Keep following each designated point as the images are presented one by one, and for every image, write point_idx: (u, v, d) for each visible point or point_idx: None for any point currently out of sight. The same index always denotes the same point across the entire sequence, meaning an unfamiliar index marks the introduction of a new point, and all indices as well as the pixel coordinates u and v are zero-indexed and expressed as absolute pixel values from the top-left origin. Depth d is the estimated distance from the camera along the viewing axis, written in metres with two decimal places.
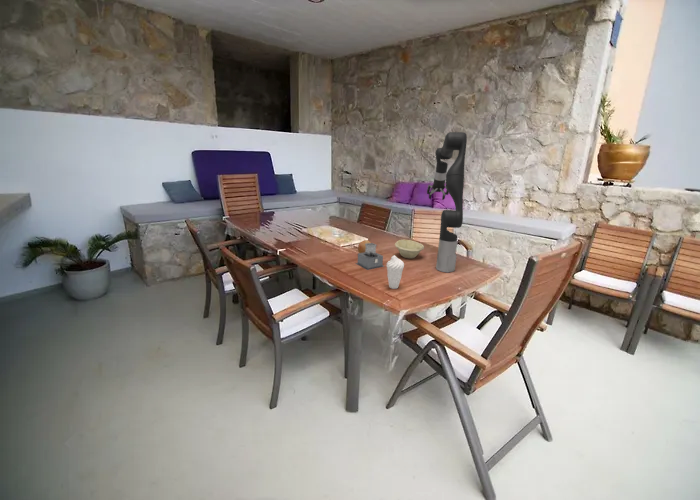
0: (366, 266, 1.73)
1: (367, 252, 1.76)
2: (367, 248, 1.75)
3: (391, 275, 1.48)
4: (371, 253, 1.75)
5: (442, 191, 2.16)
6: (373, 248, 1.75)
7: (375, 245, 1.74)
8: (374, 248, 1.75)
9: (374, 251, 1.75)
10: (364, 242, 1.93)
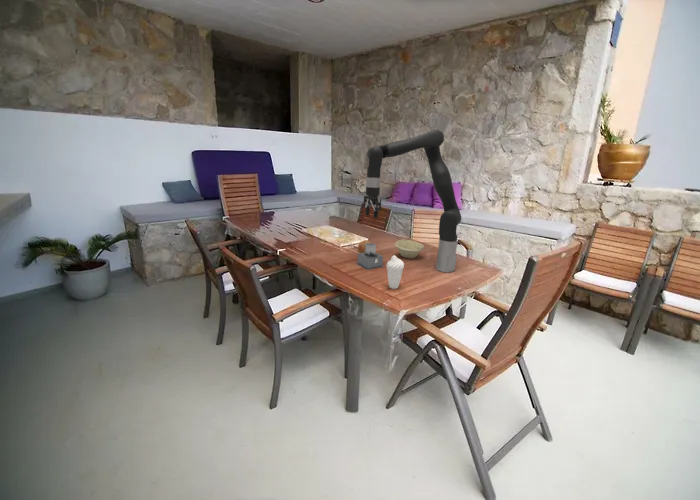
0: (366, 266, 1.73)
1: (367, 252, 1.76)
2: (367, 248, 1.75)
3: (391, 275, 1.48)
4: (371, 253, 1.75)
5: None
6: (373, 248, 1.75)
7: (375, 245, 1.74)
8: (374, 248, 1.75)
9: (374, 251, 1.75)
10: (364, 242, 1.93)
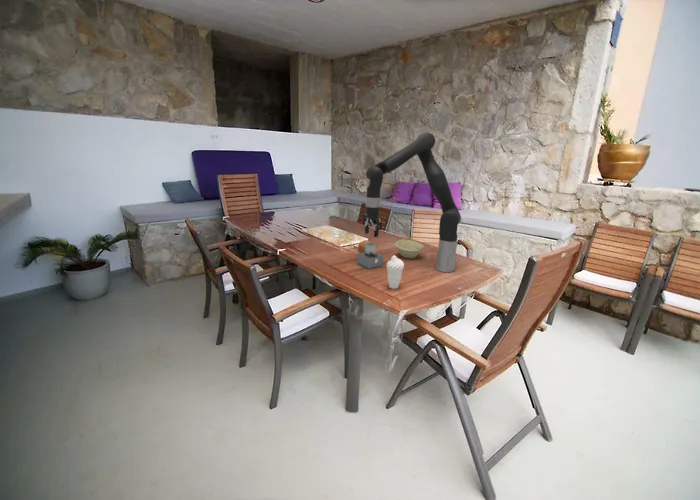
0: (366, 266, 1.73)
1: (367, 252, 1.76)
2: (367, 248, 1.75)
3: (391, 275, 1.48)
4: (371, 253, 1.75)
5: None
6: (373, 248, 1.75)
7: (375, 245, 1.74)
8: (374, 248, 1.75)
9: (374, 251, 1.75)
10: (364, 242, 1.93)
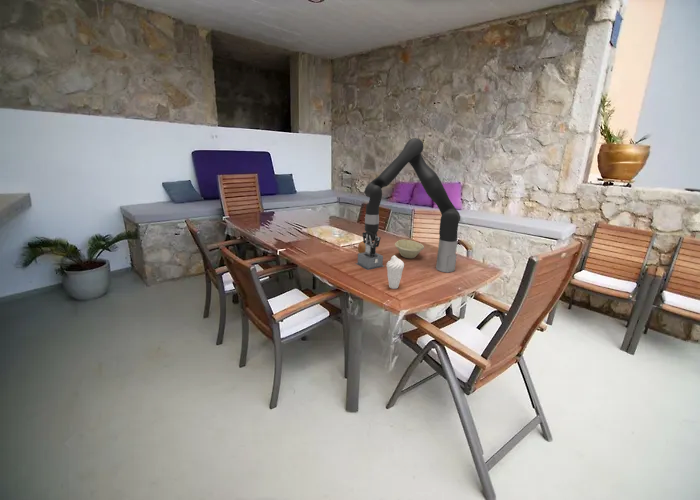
0: (366, 266, 1.73)
1: (367, 252, 1.76)
2: (367, 248, 1.75)
3: (391, 275, 1.48)
4: None
5: None
6: None
7: None
8: None
9: None
10: None
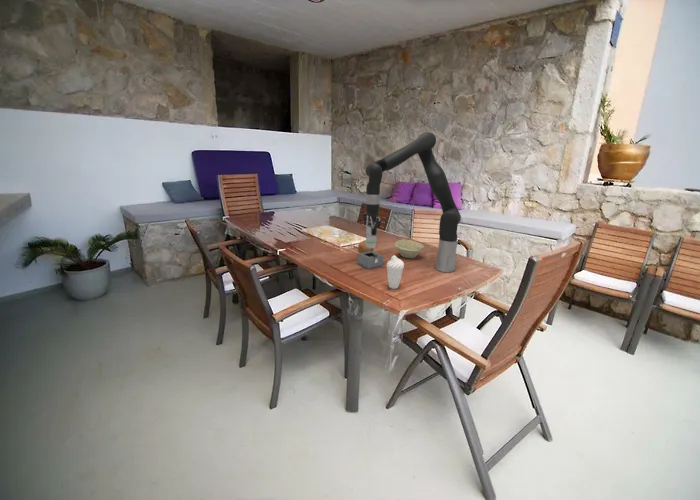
0: (366, 266, 1.73)
1: (368, 234, 1.72)
2: (368, 229, 1.72)
3: (391, 275, 1.48)
4: (372, 235, 1.71)
5: None
6: None
7: None
8: None
9: None
10: (364, 242, 1.93)
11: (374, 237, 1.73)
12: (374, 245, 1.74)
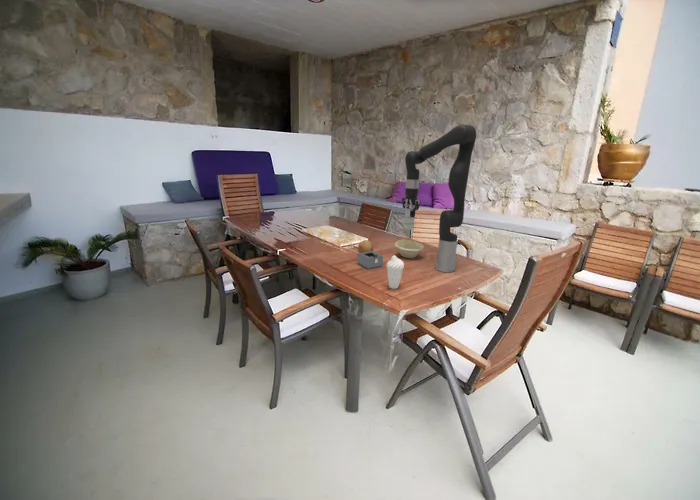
0: (366, 266, 1.73)
1: (407, 216, 1.89)
2: (407, 212, 1.88)
3: (391, 275, 1.48)
4: None
5: None
6: None
7: None
8: None
9: None
10: (364, 242, 1.93)
11: (412, 219, 1.89)
12: (412, 226, 1.90)
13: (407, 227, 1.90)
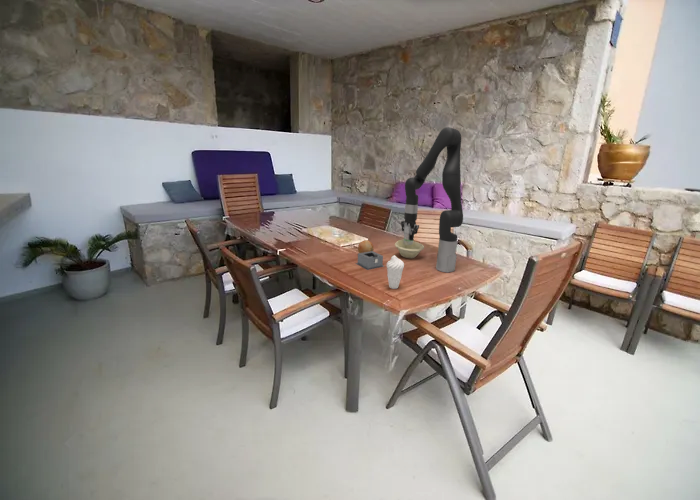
0: (366, 266, 1.73)
1: (406, 232, 1.92)
2: (406, 229, 1.92)
3: (391, 275, 1.48)
4: None
5: None
6: None
7: None
8: None
9: (412, 231, 1.92)
10: (364, 242, 1.93)
11: None
12: (411, 243, 1.94)
13: (406, 243, 1.94)
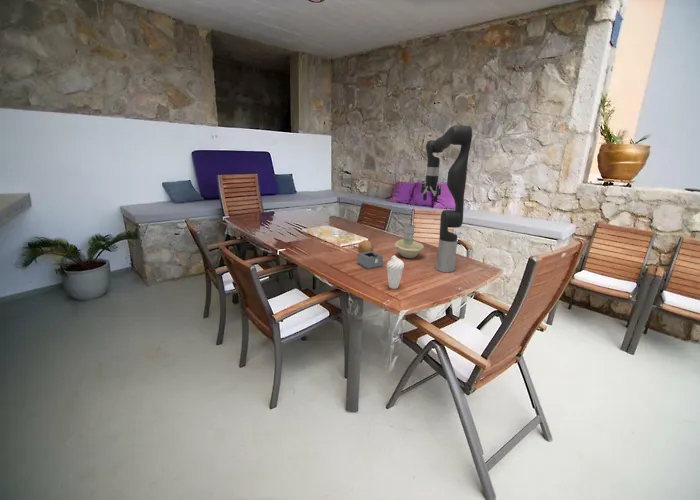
0: (366, 266, 1.73)
1: (406, 232, 1.93)
2: (406, 228, 1.92)
3: (391, 275, 1.48)
4: (410, 233, 1.92)
5: None
6: (412, 228, 1.91)
7: (414, 226, 1.91)
8: (413, 228, 1.92)
9: (412, 231, 1.92)
10: (364, 242, 1.93)
11: (411, 235, 1.93)
12: (411, 242, 1.94)
13: (406, 243, 1.94)
